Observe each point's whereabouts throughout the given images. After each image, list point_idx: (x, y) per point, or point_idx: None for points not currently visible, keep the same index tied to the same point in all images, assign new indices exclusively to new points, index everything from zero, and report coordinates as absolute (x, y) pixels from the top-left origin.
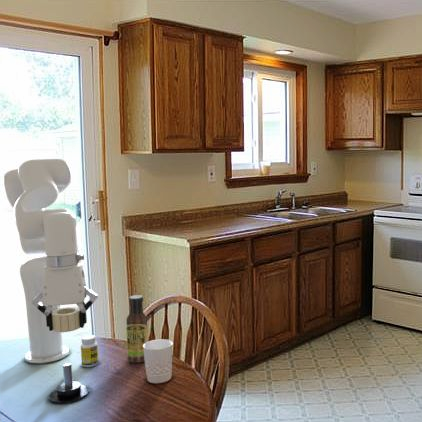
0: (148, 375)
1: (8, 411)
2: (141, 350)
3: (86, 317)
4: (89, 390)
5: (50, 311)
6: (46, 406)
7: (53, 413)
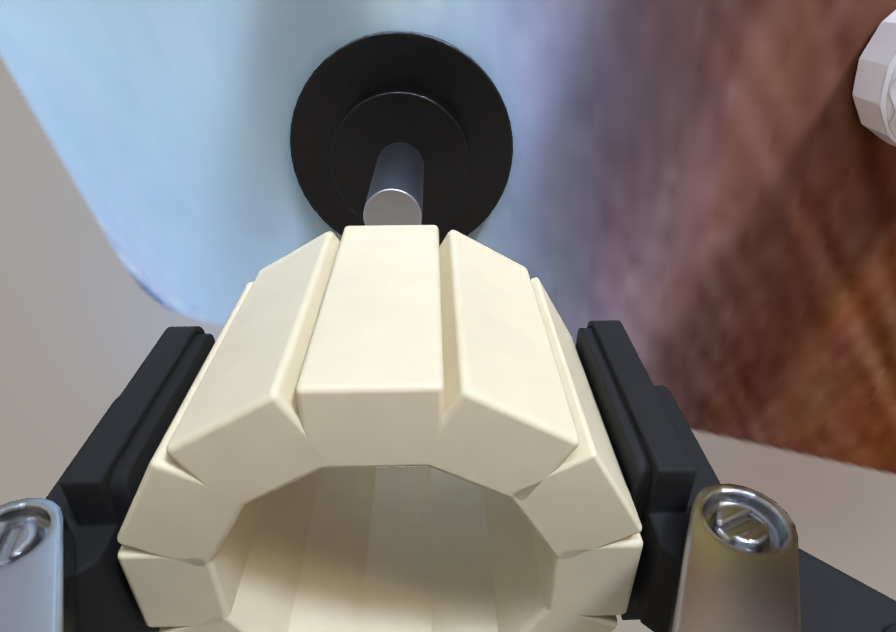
0: (880, 119)
1: (136, 256)
2: None
3: (683, 423)
4: (511, 138)
5: (95, 616)
6: None
7: None
